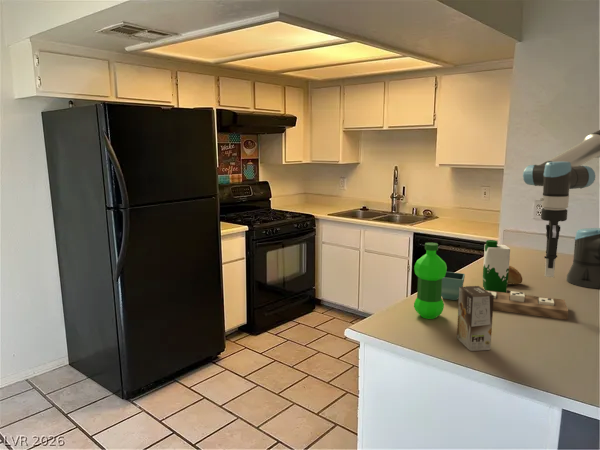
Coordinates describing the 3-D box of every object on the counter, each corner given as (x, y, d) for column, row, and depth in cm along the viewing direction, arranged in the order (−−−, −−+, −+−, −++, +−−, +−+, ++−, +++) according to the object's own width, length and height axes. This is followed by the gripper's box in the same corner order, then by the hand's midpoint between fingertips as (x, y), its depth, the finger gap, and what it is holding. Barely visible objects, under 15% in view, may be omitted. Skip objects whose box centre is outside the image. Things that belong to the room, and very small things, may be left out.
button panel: (563, 307, 154) (564, 299, 153) (567, 319, 143) (568, 311, 142) (472, 296, 166) (473, 288, 166) (469, 306, 156) (470, 298, 155)
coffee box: (491, 350, 122) (495, 295, 119) (469, 351, 121) (473, 296, 119) (475, 336, 131) (479, 285, 128) (455, 337, 130) (458, 286, 128)
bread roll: (520, 288, 175) (522, 269, 174) (481, 283, 183) (482, 265, 182) (522, 282, 183) (524, 264, 182) (484, 277, 191) (486, 260, 190)
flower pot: (463, 295, 167) (465, 273, 166) (461, 303, 159) (463, 279, 158) (440, 292, 171) (441, 270, 169) (437, 300, 163) (438, 276, 161)
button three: (523, 302, 155) (524, 292, 155) (523, 306, 152) (524, 295, 151) (509, 300, 157) (510, 290, 157) (509, 304, 153) (510, 294, 153)
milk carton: (480, 286, 179) (483, 238, 175) (503, 287, 177) (507, 239, 173) (484, 293, 170) (487, 243, 167) (509, 294, 168) (513, 243, 165)
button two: (552, 308, 152) (553, 298, 151) (553, 312, 148) (554, 302, 147) (537, 306, 154) (538, 296, 153) (538, 310, 150) (539, 300, 149)
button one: (495, 301, 159) (496, 291, 159) (495, 305, 156) (496, 295, 155) (482, 299, 161) (483, 290, 161) (482, 303, 157) (482, 293, 157)
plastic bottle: (434, 309, 153) (437, 240, 149) (450, 320, 143) (454, 246, 139) (407, 311, 151) (410, 241, 147) (422, 323, 141) (425, 248, 137)
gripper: (540, 205, 152) (536, 270, 156) (542, 210, 141) (537, 280, 145) (565, 206, 149) (560, 272, 153) (569, 211, 137) (564, 283, 142)
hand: (549, 276), depth 149 cm, fingers closed
